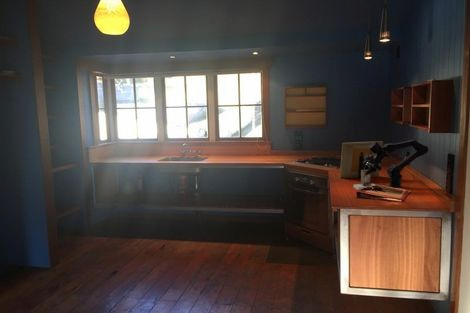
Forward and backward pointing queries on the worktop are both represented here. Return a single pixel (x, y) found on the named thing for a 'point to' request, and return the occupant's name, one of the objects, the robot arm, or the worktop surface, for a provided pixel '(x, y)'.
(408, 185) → the worktop surface
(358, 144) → the picture frame
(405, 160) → the robot arm
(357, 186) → the display block
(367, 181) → the brown box on plinth
